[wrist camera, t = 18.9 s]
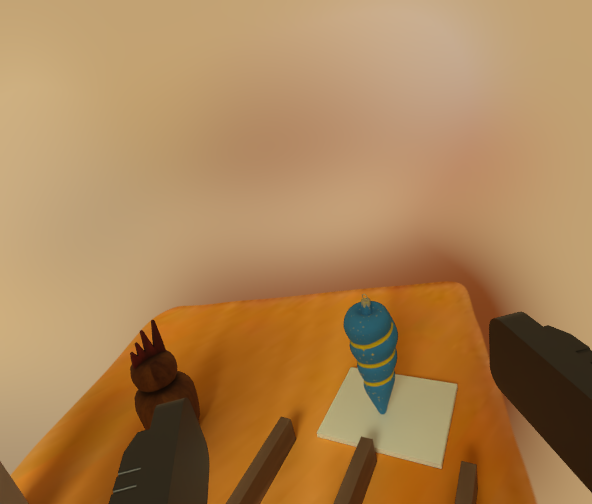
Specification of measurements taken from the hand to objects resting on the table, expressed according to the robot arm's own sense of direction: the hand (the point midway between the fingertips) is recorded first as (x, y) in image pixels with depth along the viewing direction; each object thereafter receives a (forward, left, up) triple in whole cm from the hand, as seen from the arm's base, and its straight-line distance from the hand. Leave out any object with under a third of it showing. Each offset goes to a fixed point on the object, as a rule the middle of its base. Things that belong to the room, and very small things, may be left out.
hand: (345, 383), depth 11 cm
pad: (-9, +26, -29) cm, 39 cm away
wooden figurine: (-33, +16, -29) cm, 46 cm away
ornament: (-10, +25, -28) cm, 39 cm away
